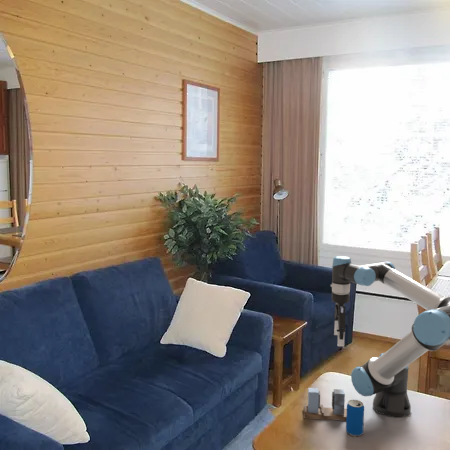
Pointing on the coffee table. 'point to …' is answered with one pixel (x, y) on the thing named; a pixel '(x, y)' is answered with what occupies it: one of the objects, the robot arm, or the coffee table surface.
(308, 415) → the brown boxy frame piece
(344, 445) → the coffee table surface
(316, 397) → the block
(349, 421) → the beverage can
